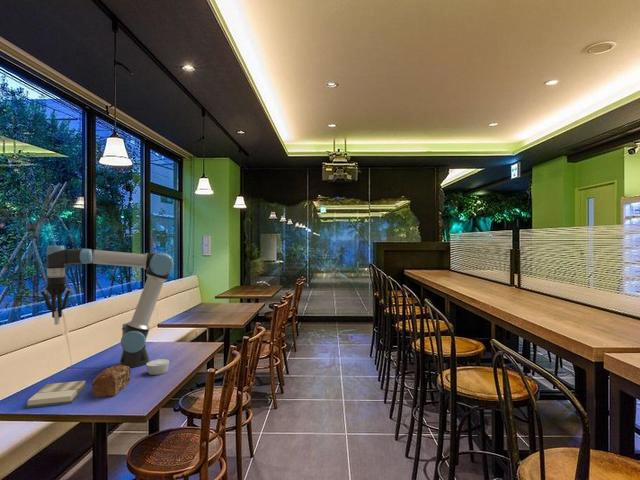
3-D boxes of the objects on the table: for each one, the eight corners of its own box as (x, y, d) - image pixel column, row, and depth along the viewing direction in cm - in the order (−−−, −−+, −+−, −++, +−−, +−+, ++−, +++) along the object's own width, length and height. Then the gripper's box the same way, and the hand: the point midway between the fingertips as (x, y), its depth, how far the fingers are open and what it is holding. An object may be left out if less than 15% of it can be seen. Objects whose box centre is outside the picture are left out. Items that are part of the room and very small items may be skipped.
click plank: (85, 384, 188) (85, 380, 188) (77, 393, 178) (77, 388, 178) (47, 388, 184) (46, 384, 184) (36, 397, 174) (36, 393, 174)
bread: (116, 397, 176) (115, 374, 176) (90, 398, 175) (90, 375, 175) (131, 382, 194) (131, 361, 194) (108, 383, 193) (108, 362, 193)
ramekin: (146, 377, 201) (146, 366, 201) (146, 370, 211) (146, 360, 211) (169, 373, 205) (169, 363, 205) (168, 367, 215) (168, 357, 215)
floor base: (86, 386, 189) (86, 380, 189) (72, 403, 170) (72, 395, 170) (46, 390, 185) (46, 383, 185) (26, 408, 165) (26, 400, 165)
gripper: (37, 277, 192) (39, 326, 192) (68, 276, 196) (69, 324, 196) (44, 276, 199) (45, 323, 199) (73, 275, 203) (74, 321, 203)
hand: (57, 324), depth 197 cm, fingers closed
